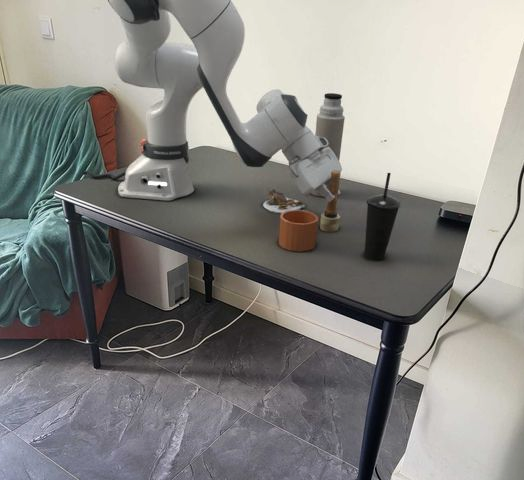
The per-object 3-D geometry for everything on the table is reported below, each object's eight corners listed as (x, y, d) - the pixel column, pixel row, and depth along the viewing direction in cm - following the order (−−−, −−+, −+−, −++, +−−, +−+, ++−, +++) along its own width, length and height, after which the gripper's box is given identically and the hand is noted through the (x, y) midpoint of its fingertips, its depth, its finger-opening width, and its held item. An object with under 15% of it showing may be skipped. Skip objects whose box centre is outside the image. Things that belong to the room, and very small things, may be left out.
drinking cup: (355, 249, 128) (367, 167, 116) (384, 249, 129) (400, 168, 117) (362, 263, 122) (376, 178, 110) (393, 263, 123) (411, 179, 111)
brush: (321, 231, 136) (327, 174, 127) (318, 224, 140) (324, 168, 131) (340, 231, 137) (347, 174, 128) (336, 224, 141) (343, 168, 132)
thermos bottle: (310, 187, 165) (319, 90, 148) (335, 189, 164) (347, 92, 148) (309, 195, 158) (318, 95, 142) (335, 197, 158) (348, 97, 141)
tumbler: (280, 251, 125) (282, 224, 121) (277, 235, 133) (278, 209, 129) (318, 251, 126) (321, 224, 122) (312, 236, 134) (314, 210, 130)
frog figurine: (254, 206, 149) (254, 193, 147) (277, 196, 157) (277, 183, 155) (287, 216, 144) (288, 203, 142) (309, 205, 152) (310, 192, 150)
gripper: (295, 154, 121) (328, 203, 124) (328, 136, 136) (357, 180, 138) (277, 170, 126) (310, 217, 128) (311, 151, 140) (340, 193, 143)
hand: (335, 197), depth 133 cm, fingers closed on brush, 2 cm apart
